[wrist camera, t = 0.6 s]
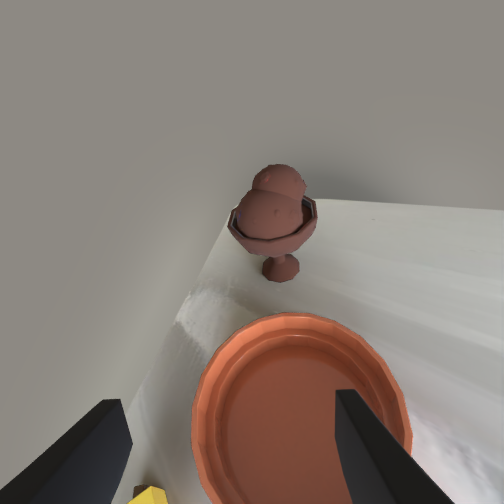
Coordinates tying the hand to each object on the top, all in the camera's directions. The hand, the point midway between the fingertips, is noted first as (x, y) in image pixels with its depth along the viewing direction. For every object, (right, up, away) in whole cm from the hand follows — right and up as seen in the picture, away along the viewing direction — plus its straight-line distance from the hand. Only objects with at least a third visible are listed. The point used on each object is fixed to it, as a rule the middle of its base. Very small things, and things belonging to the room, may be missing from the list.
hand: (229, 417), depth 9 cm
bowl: (+5, -10, +15) cm, 18 cm away
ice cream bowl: (+5, +3, +29) cm, 30 cm away
